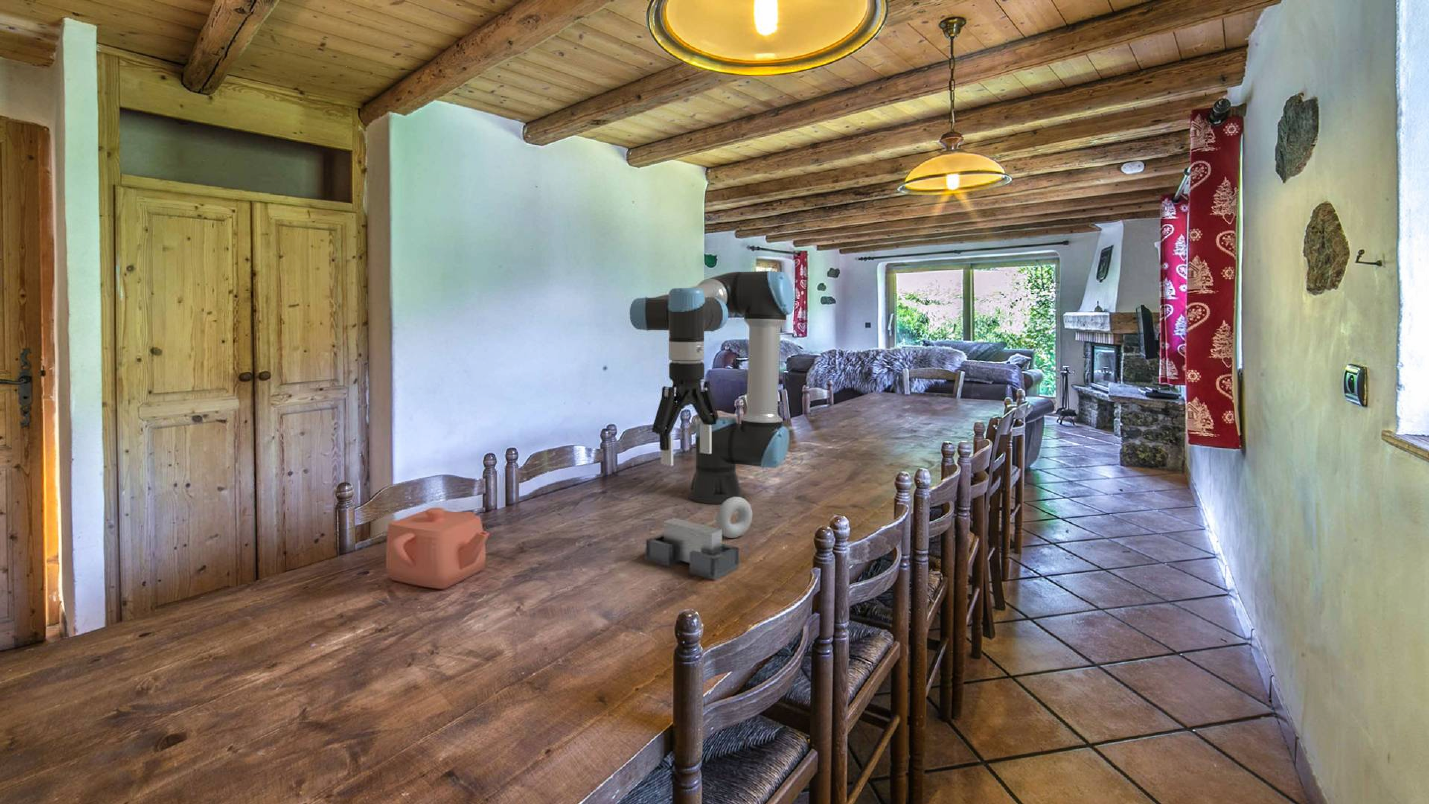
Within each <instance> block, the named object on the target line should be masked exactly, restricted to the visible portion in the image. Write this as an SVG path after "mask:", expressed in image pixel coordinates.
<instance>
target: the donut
mask: <svg viewBox="0 0 1429 804" xmlns="http://www.w3.org/2000/svg"><path fill="white" fill-rule="evenodd" d="M734 512H738V517H737V520H736V521H735V522H734V523H731V522H732V521H731V518H732V515H733V513H734ZM752 521H753V510H752V507H751V504H750V502H748V501H747V500H746V499H745V498H743V497H742V496H741V497H732V498H729V499H727V500H726V501H725V502H723V503H722V504H720V506H719V508H718V510H717V512H716V517H715V522H716V527H717V529H721V530H722V536H724V537H726V538H729V539H735V538H738V537H740V536H742V535H744V534H745V533H746V532H747V531H748V529H749V528H750V526H751V524H752Z"/></svg>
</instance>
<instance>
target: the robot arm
mask: <svg viewBox="0 0 1429 804" xmlns="http://www.w3.org/2000/svg"><path fill="white" fill-rule="evenodd" d="M794 292H795V291H794V287H793V284H792V281H791V278H790V277H789V275H788V274H786V272H784V271H778V270H762V271H761V270H758V271H731V272H727V273H723V274H719V275H716V276H713V277H709V278H705V279H704V280H702V281H700V282H698V284H697V285H696V286H695V285H694V286H692V287H674V288H671V289H670V290H669V292H668V293H667V294H662V295H658V296H655V297H647V296H645V297H637V298H634V299H633V300H632V302H631V304H630V307H629V319H630V324H631V325H632V326H633V328H635V329H637V330H642V331H647V332H648V331H649V332H650V331H668V359H669V360H670V363H669V364H668V378H669V379H670V381H672V386H665V385H663V387H661V397H660V401H659V405H658V408H657V410H656V411H657V412H656V415H655V417H654V420H653V421H654V422H653V425H652V427H651V432H652V433H655V434H657V435H658V436H659V449H660V465H665V466H667V467H668V466H669V467H672V466H674V434H671V432H672V431H673V429H674V426H675V425H676V422H677V420H678V418H679V416H680V414H681V411H682V410H683V409H685V407H687V406H690V405H692V407H693V409H694V410H695V412H696V415H697V416H698V417H699V419H700V421H698V423H697V424H696V428H695V435H694V436H695V437H694V438H695V472H694V475H693V477H692V480H691V484H690V487H689V490H688V491H689V494H688V495H689V499H691V500H692V501H694V502H697V503H702V504H708V505H709V504H710V505H711V504H714V505H718V504H719V505H722V503H723V502H725V501H726V500H727V499H729V498H732V497H741V498H742V489H741V486H740V483H739V478H738V475H737V472H736V467H737V465H741V466H749V467H759V468H761V469H765V468H768V469H773V468H778V467H779V466H780V465H781V464H782V463H783V462H784V460H785V458H786V455H787V452H788V448H789V444H790V443H789V442H790V430H789V428H787V427H786V426H783V423H784V422H783V421H784V420H783V418H782V417H781V416H780V415H779V413H778V407H779V406H778V404H779V401H778V400H779V380H780V379H779V378H780V377H779V375H780V353H781V350H780V349H781V347H780V346H781V345H780V344H781V329H782V326H784V324H786V322H787V316H789V315H791V314H792V313H793V311H794V307H795V293H794ZM729 314H734V315H735V314H736V315H738V314H739V315H743V316H744V317H743V318H744V319H743V321H744V322H745V324H747V325H748V327H749V330H748V331H749V333H748V359H747V360H748V362H747V388H746V389H747V391H746V392H747V394H746V395H747V396H746V397H747V398H746V413H745V414H743V416H741V418H740V423H738V420H737V418H736V417H734V416H733V417H732V416H722V417H719V414H718V411H717V407H716V404H715V401H714V397H713V394H712V392H711V382H710V381H708V380H704V379H705V363H704V362H703V360H704V359H705V332H715V331H719V329H722V328H723V327H724V326H725V325H726V324H727V322H728V319H729Z"/></svg>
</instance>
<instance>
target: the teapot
mask: <svg viewBox="0 0 1429 804" xmlns="http://www.w3.org/2000/svg"><path fill="white" fill-rule="evenodd" d="M483 528H484V527H483V524H482V518H481V517H480V516H479V515H477V514H476V515H475V513H474V512H473V511H463V512H458V511H450V510H445V508H442V507H431V508H428V509H425V510H423V511H420V512H417V513H415V514H412V515H409V516H406V517H403V518H400V519H398V520H395V521H392V522H389V523H388V526H387V537H386V550H385V552H386V553H385V565H386V566H385V567H386V573H387V576H388V579H390V580H392V581H395V582H400V583H403V584H404V583H405V584H408V585H413V586H419V587H424V588H429V589H437V590H438V589H440V590H446V589H447V588H450V587H452V586H455V585H456V584H458V583H460V582H462V581H464V580H466V579H468V578H471V577H472V576H474V575H475V574H477V573H480V572H481V571H483V570H485V566H486V559H487V556H486V554H487V553H486V542H487V540H488V538H489V536H490V533H489V532H486V531H484V530H483Z"/></svg>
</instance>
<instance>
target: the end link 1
mask: <svg viewBox="0 0 1429 804" xmlns="http://www.w3.org/2000/svg"><path fill="white" fill-rule="evenodd" d="M645 542H646V543H645V544H646V547H645V550H646V554H645V555H646V557H645V559H646V561H648V562H651V563H655V564H658V565H661V566H664V567H668V568H670V567H673V566H674V565H676V564H679V563H681V562H683V561H682V560H678V559H675V558H673V545H671V544H668V543H664V533H661V534H659V535H656V536H654V537H651V538H647V539H646V541H645Z"/></svg>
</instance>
